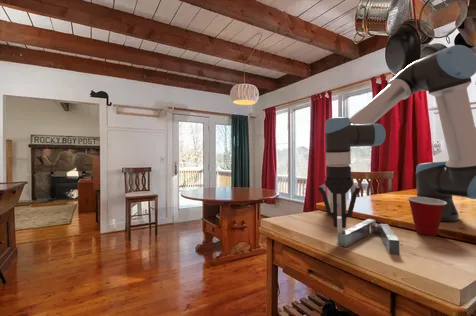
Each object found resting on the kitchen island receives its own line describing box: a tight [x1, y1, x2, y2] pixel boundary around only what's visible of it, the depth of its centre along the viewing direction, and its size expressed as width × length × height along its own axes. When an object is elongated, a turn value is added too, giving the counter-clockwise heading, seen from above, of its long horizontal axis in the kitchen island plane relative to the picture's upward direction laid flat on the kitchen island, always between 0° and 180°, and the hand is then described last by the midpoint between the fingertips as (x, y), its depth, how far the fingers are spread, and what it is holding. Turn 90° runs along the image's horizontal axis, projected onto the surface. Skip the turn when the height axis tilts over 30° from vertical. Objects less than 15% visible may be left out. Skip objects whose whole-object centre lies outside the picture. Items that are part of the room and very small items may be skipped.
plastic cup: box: [407, 196, 447, 237], centre depth 84 cm, size 11×11×12 cm
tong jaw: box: [337, 218, 377, 248], centre depth 83 cm, size 2×22×4 cm, turn 129°
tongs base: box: [370, 223, 400, 256], centre depth 79 cm, size 5×20×4 cm, turn 158°
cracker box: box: [327, 188, 347, 217], centre depth 113 cm, size 14×6×21 cm, turn 168°
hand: (339, 236), depth 80 cm, fingers closed
